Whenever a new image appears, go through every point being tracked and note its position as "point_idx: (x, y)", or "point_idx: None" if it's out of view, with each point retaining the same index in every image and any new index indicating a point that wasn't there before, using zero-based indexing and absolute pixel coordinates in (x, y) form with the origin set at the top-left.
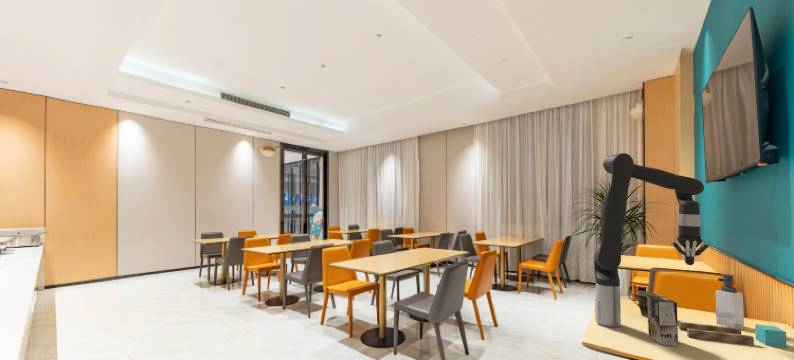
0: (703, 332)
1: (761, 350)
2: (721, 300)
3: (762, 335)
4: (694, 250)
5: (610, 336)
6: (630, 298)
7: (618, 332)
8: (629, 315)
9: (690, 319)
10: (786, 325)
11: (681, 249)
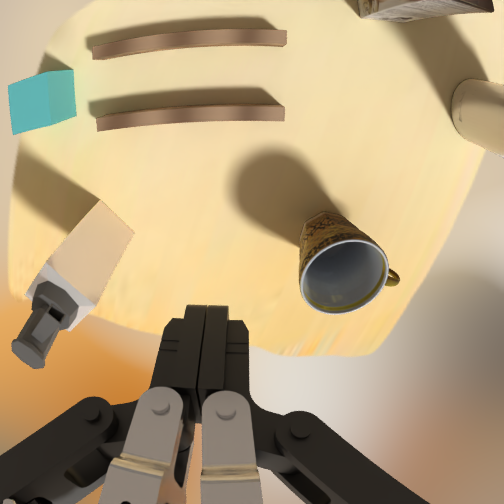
0: (238, 29)
1: (104, 12)
2: (92, 269)
3: (61, 83)
4: (126, 472)
5: (488, 14)
6: (392, 270)
7: (469, 41)
8: (388, 215)
9: (200, 245)
10: (9, 283)
11: (331, 483)
